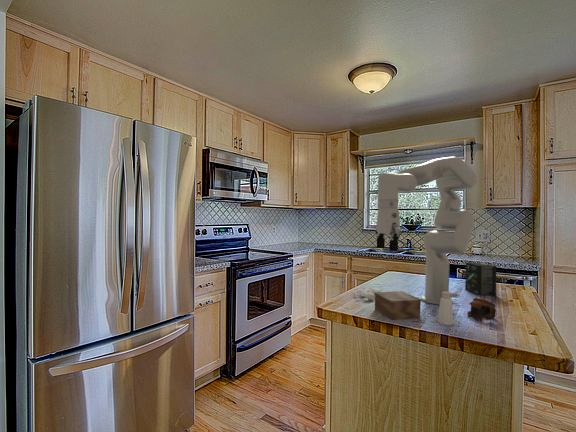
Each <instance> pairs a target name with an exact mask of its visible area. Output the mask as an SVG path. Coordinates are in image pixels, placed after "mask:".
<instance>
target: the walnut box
mask: <svg viewBox="0 0 576 432" xmlns="http://www.w3.org/2000/svg"><path fill="white" fill-rule="evenodd" d="M374 294H375V295H374V296H375V299H374V311H376V312H378V313H380V314H381V315H382V316H384V317H386V319H390V320H391V321H396V320H411V319H421V303H422V300H421V298H419V297H416V296H414V295H412V294H410V293H407V292H405V291H402V290H397V291H395V290H394V291H393V290H392V291H381V292H374Z"/></svg>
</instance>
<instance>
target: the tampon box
mask: <svg viewBox="0 0 576 432" xmlns="http://www.w3.org/2000/svg"><path fill="white" fill-rule="evenodd" d="M464 283H465V285H464V286H465V289H464V290H465V291H467V292H469V293H472V294H475V295H477V296H479V295H480V296H497V265H493V264H490V263H485V262H477V261H476V262H474V261H473V262H468V261H467V262H466V261H465V282H464Z"/></svg>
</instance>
